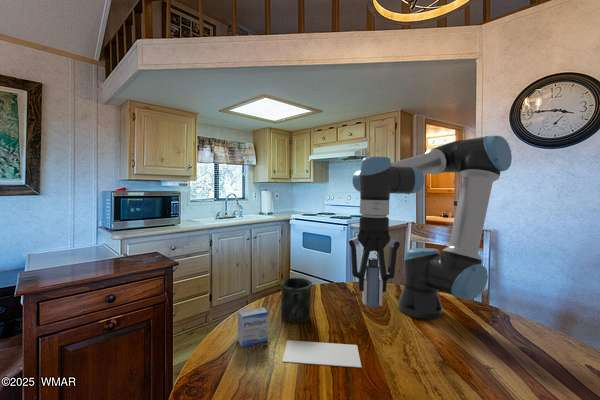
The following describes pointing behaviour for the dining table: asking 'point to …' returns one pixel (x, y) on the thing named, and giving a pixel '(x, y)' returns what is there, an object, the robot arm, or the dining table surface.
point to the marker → (372, 283)
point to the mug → (296, 300)
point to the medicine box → (252, 326)
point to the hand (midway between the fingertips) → (371, 302)
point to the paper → (322, 354)
